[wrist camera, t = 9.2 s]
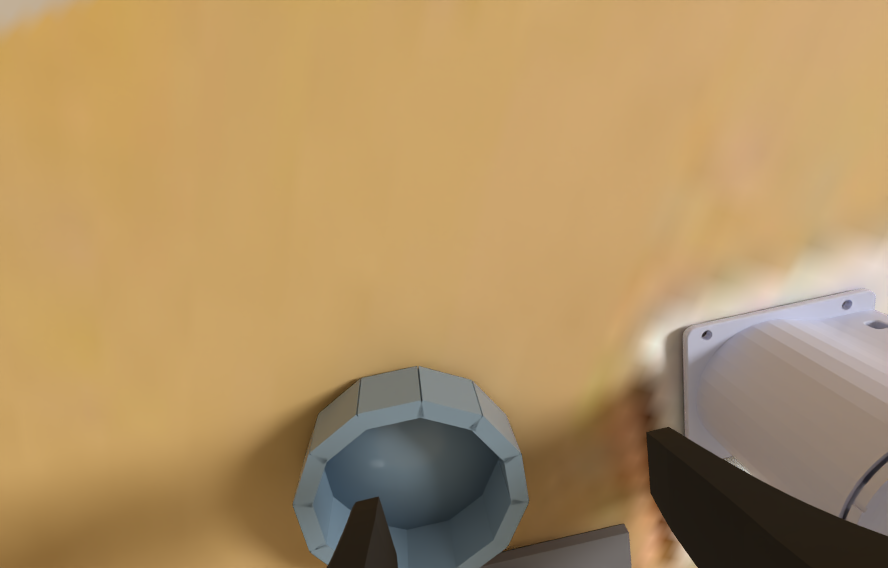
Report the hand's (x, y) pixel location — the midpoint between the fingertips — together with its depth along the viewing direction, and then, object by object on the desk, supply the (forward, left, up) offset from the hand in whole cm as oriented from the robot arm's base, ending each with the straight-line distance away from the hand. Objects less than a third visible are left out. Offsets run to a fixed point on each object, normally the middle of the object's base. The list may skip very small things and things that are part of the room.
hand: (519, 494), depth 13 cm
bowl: (+4, +6, -10) cm, 13 cm away
